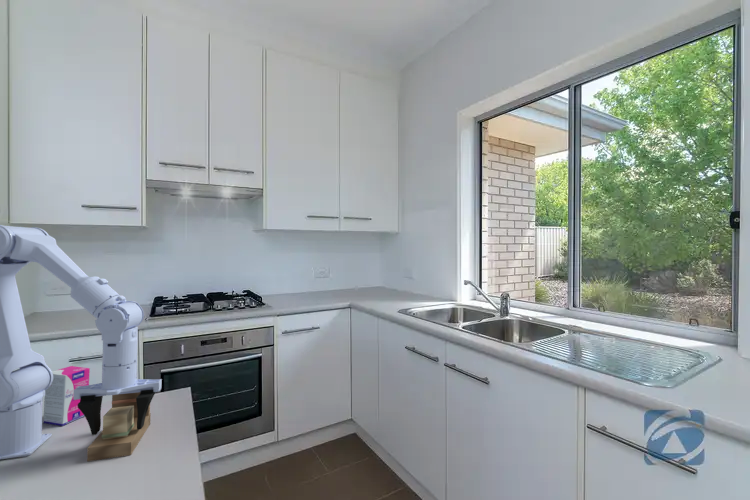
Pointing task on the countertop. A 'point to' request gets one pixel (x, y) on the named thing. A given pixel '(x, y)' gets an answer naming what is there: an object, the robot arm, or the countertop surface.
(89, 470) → the countertop surface
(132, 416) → the green-banded taupe cube
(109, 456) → the walnut base
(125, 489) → the countertop surface
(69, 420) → the supplement box
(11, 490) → the countertop surface
